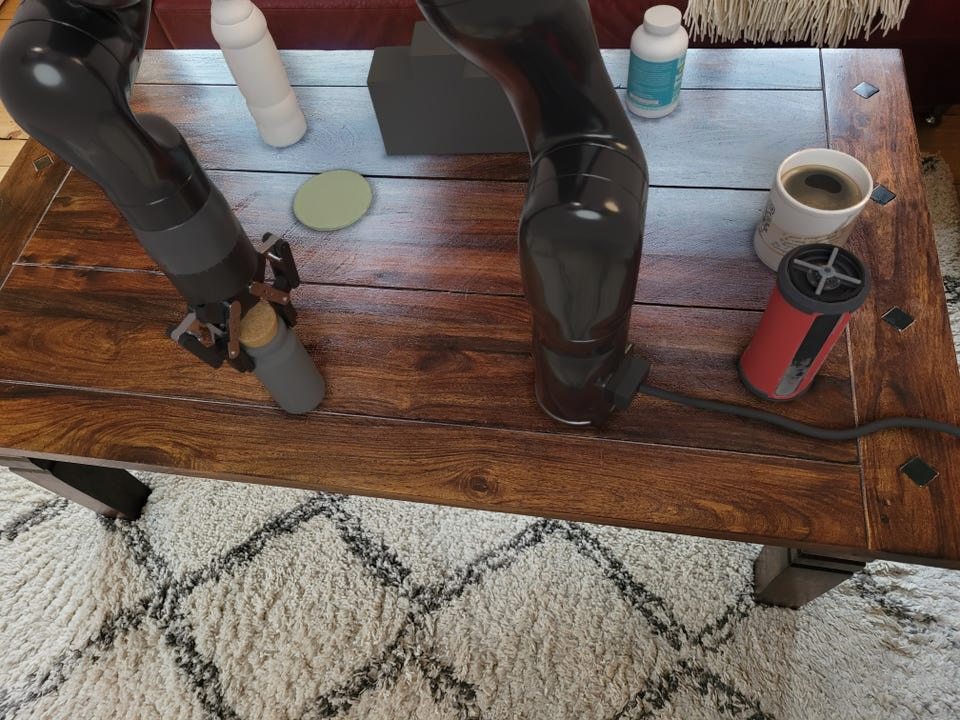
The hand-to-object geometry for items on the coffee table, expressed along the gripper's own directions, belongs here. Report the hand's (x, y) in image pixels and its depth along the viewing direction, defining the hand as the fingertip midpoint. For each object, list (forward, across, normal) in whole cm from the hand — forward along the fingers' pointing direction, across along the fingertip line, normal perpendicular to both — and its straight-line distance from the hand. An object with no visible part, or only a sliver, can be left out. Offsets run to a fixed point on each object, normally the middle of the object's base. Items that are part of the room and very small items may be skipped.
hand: (268, 344), depth 71 cm
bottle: (+11, 0, 0) cm, 11 cm away
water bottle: (+11, +32, +33) cm, 47 cm away
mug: (+11, +49, -39) cm, 64 cm away
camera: (+11, +49, +9) cm, 51 cm away
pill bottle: (+11, +63, -12) cm, 65 cm away
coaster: (+11, +25, +17) cm, 32 cm away
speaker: (+11, +30, -44) cm, 54 cm away
